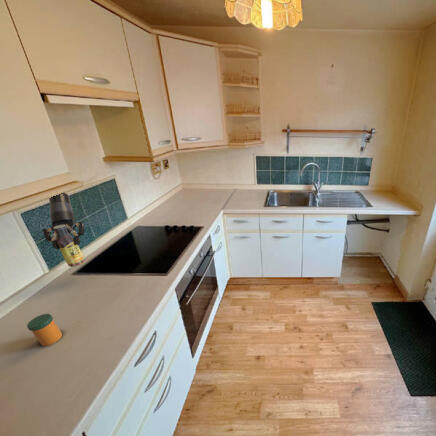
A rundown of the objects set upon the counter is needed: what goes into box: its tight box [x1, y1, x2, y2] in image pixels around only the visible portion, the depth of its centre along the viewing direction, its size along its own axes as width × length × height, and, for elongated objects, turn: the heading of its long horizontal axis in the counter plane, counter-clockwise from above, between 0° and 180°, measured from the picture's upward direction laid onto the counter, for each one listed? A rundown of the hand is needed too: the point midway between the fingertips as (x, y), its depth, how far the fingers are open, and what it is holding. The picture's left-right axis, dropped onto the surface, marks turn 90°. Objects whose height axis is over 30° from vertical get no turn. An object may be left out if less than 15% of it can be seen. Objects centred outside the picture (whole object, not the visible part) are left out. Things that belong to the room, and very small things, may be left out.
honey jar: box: [31, 319, 63, 347], centre depth 82 cm, size 6×6×9 cm
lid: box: [26, 313, 54, 332], centre depth 80 cm, size 6×6×2 cm
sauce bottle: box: [53, 225, 86, 268], centre depth 104 cm, size 7×6×20 cm
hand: (67, 246), depth 103 cm, fingers closed on sauce bottle, 6 cm apart
